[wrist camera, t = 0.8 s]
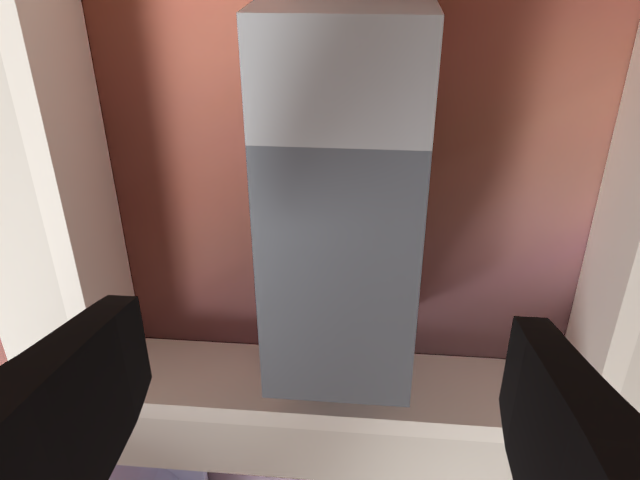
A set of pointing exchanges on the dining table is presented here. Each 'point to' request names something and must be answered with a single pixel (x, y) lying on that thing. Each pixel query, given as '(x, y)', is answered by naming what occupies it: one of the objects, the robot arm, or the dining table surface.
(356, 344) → the box
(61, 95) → the cream square frame
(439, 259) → the dining table surface
